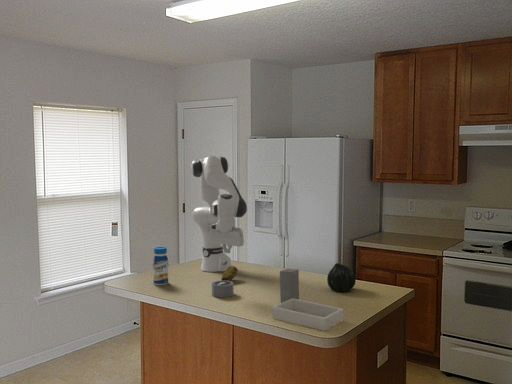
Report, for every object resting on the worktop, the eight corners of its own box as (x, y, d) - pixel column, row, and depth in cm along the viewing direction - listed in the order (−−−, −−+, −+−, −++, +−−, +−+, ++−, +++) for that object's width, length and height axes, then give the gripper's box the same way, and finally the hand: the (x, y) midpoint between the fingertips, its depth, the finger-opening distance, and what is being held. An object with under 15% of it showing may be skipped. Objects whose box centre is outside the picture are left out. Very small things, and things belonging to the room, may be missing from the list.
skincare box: (291, 305, 232) (292, 272, 230) (278, 303, 235) (278, 270, 234) (300, 301, 239) (300, 269, 238) (287, 298, 243) (287, 267, 241)
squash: (365, 280, 256) (348, 256, 262) (349, 287, 245) (332, 262, 251) (348, 294, 264) (332, 270, 270) (332, 301, 254) (316, 277, 259)
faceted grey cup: (221, 290, 258) (221, 279, 257) (238, 294, 251) (237, 282, 250) (207, 295, 249) (207, 283, 248) (223, 299, 242) (223, 287, 242)
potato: (215, 282, 274) (215, 268, 274) (231, 278, 284) (231, 264, 283) (225, 285, 269) (225, 270, 268) (241, 280, 278) (241, 266, 278)
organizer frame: (292, 308, 227) (292, 298, 226) (343, 320, 211) (343, 308, 210) (272, 318, 214) (272, 306, 214) (324, 330, 198) (324, 318, 198)
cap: (222, 290, 254) (222, 280, 254) (231, 292, 250) (230, 282, 250) (214, 293, 249) (214, 283, 249) (223, 295, 246) (223, 285, 245)
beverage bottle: (170, 281, 276) (169, 246, 275) (166, 285, 268) (165, 249, 266) (155, 281, 277) (155, 246, 275) (151, 285, 268) (150, 249, 267)
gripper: (246, 227, 247) (246, 254, 248) (216, 223, 259) (216, 249, 261) (238, 229, 242) (238, 256, 244) (207, 225, 254) (208, 251, 256)
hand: (227, 252), depth 252 cm, fingers closed
